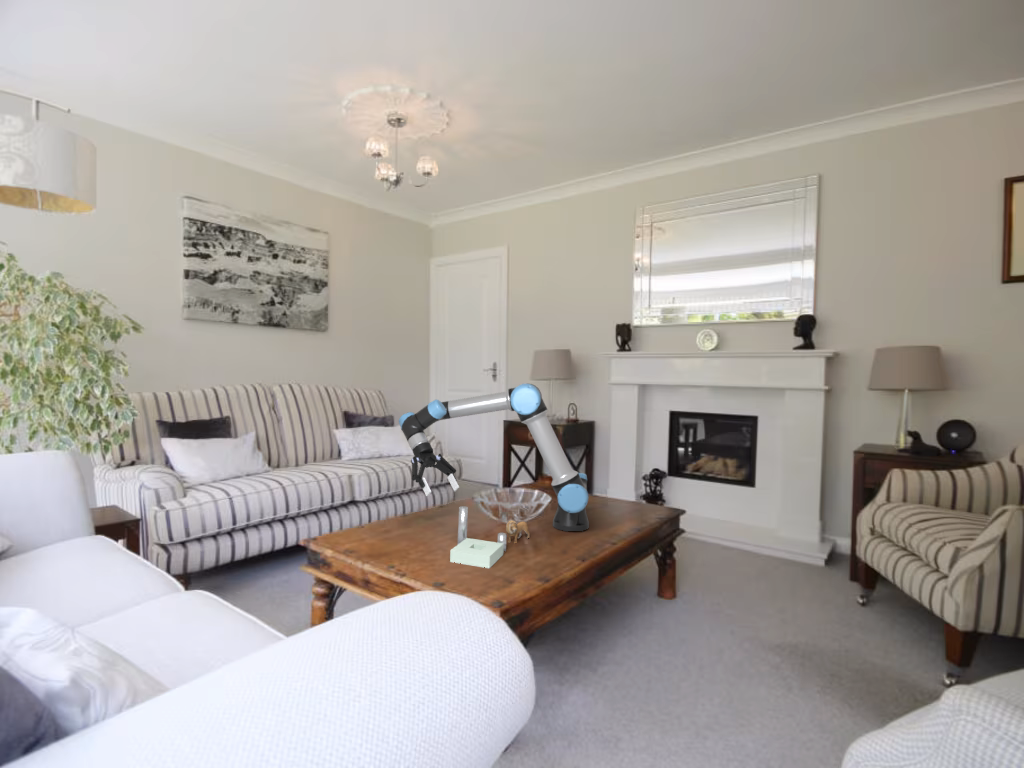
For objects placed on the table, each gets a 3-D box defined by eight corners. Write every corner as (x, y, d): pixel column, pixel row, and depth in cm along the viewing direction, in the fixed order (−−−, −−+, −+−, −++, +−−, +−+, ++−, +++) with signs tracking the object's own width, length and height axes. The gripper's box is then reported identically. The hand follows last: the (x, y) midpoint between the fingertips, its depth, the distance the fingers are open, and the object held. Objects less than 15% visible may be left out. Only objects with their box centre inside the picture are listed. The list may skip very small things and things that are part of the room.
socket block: (503, 554, 186) (503, 543, 186) (489, 568, 173) (489, 556, 173) (466, 549, 191) (466, 537, 191) (450, 561, 177) (450, 550, 177)
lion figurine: (514, 547, 195) (515, 522, 195) (501, 544, 198) (502, 520, 197) (532, 537, 208) (533, 514, 208) (520, 534, 210) (521, 511, 210)
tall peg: (467, 544, 196) (469, 506, 195) (464, 547, 192) (465, 508, 192) (459, 543, 197) (461, 505, 196) (456, 546, 193) (457, 507, 193)
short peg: (507, 549, 192) (507, 533, 192) (504, 552, 189) (505, 535, 189) (498, 548, 193) (499, 532, 193) (495, 551, 190) (496, 534, 190)
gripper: (440, 450, 223) (462, 492, 213) (390, 455, 204) (411, 502, 195) (449, 439, 219) (472, 482, 209) (398, 443, 201) (421, 490, 191)
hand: (443, 491), depth 202 cm, fingers open, 13 cm apart
